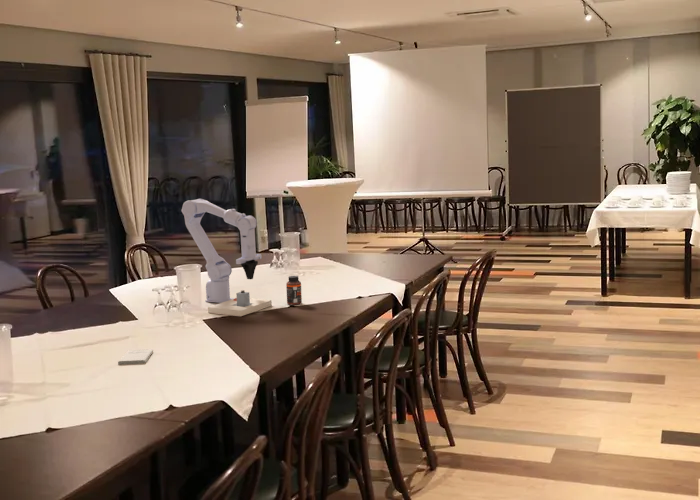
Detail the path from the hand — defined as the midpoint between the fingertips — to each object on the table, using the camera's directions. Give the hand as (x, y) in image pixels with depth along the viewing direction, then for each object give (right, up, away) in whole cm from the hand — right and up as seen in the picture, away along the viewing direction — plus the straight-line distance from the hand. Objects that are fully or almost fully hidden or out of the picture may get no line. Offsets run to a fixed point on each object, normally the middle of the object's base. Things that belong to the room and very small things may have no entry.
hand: (250, 279), depth 315 cm
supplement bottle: (+18, -10, -3) cm, 21 cm away
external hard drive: (-26, -23, -73) cm, 81 cm away
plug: (-1, -12, -11) cm, 16 cm away
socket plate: (-3, -12, -9) cm, 15 cm away
